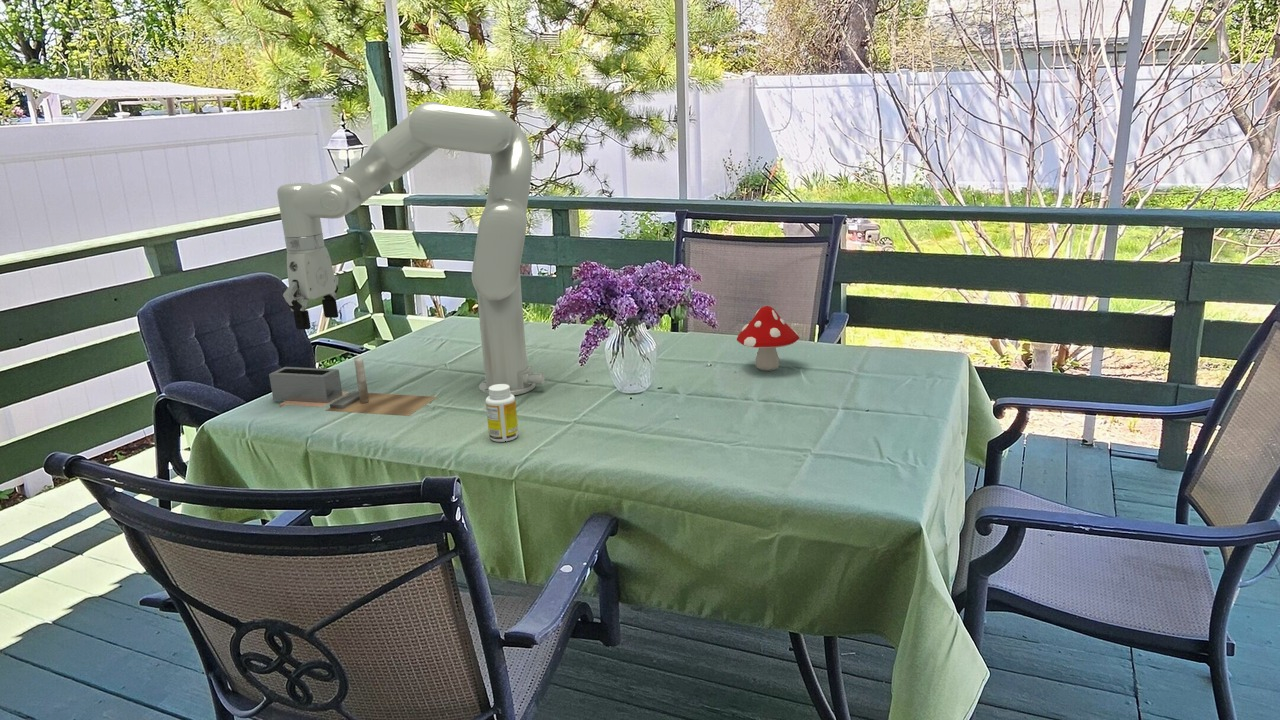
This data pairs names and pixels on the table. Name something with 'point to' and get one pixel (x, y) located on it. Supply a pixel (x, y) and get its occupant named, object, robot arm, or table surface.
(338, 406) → the post block
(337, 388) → the steel link
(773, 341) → the decorative mushroom
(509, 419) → the supplement bottle
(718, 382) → the table surface
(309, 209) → the robot arm
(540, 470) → the table surface
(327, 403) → the terracotta tile
